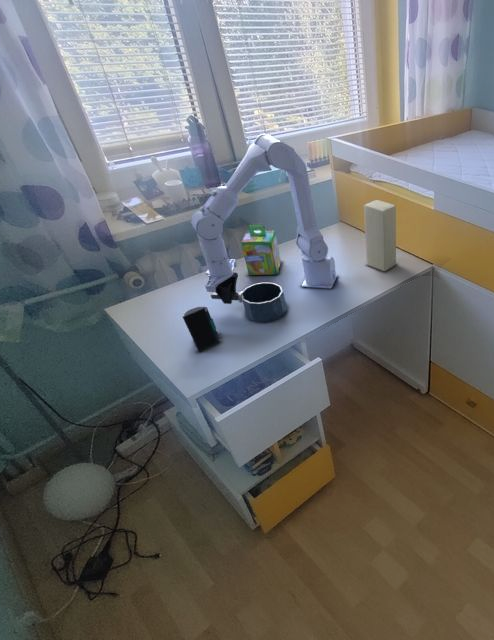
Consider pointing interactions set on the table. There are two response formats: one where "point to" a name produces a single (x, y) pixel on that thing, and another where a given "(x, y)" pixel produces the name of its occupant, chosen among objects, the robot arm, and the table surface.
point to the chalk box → (261, 251)
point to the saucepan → (261, 301)
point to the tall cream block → (380, 234)
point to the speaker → (201, 327)
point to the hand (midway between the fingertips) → (230, 300)
